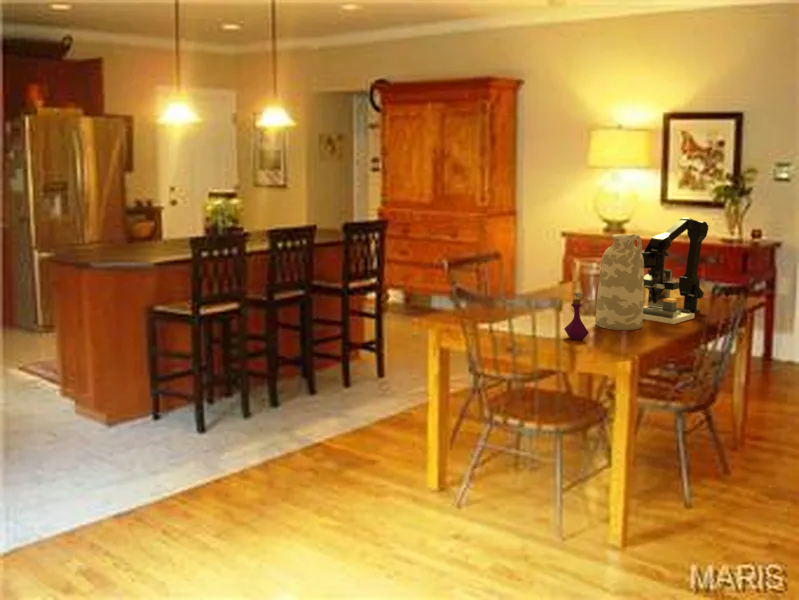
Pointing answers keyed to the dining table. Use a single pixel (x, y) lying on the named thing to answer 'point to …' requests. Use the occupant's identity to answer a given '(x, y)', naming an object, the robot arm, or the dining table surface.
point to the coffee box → (665, 292)
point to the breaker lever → (669, 304)
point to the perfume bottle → (576, 322)
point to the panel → (666, 314)
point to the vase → (621, 285)
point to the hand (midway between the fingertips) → (654, 303)
